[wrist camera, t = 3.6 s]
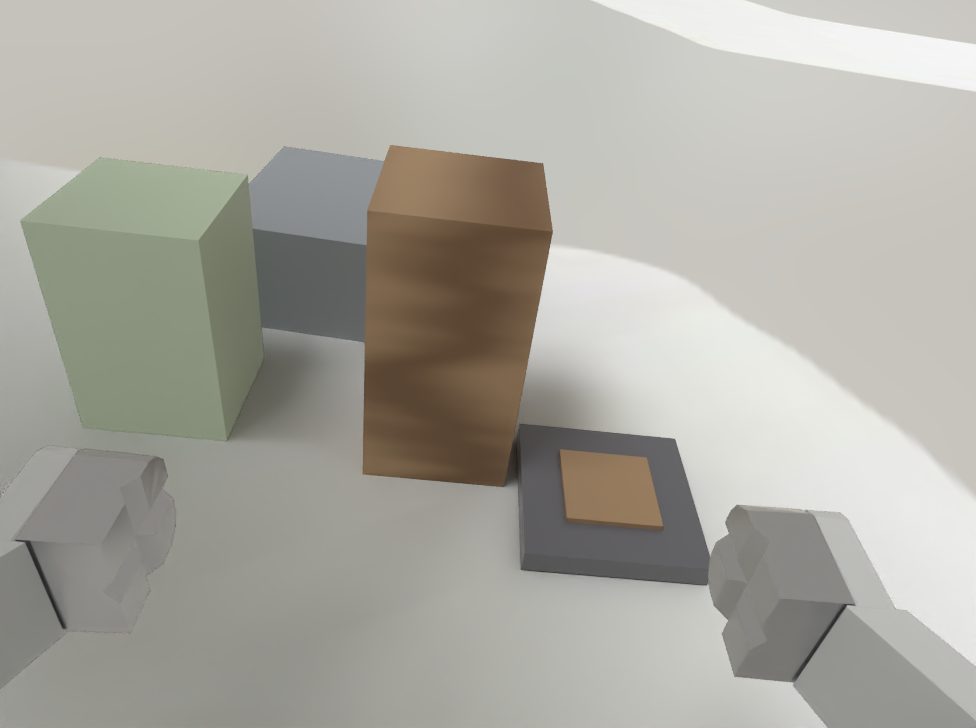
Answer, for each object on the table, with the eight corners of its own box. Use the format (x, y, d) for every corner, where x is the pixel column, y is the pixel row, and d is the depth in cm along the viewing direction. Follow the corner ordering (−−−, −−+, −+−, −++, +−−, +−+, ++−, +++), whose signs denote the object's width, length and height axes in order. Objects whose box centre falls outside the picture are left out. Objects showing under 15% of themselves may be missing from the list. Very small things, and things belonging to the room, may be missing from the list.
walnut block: (362, 474, 25) (366, 210, 19) (381, 385, 29) (390, 145, 23) (504, 486, 25) (552, 231, 19) (503, 397, 29) (542, 163, 23)
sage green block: (83, 428, 25) (19, 220, 20) (140, 346, 29) (99, 157, 24) (227, 441, 25) (198, 240, 20) (264, 358, 29) (247, 174, 24)
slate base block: (225, 326, 31) (212, 222, 28) (289, 236, 38) (284, 146, 35) (427, 355, 31) (435, 255, 28) (452, 260, 38) (461, 172, 35)
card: (520, 569, 22) (525, 548, 22) (516, 439, 27) (520, 419, 26) (705, 584, 22) (715, 565, 22) (669, 453, 27) (676, 435, 27)
